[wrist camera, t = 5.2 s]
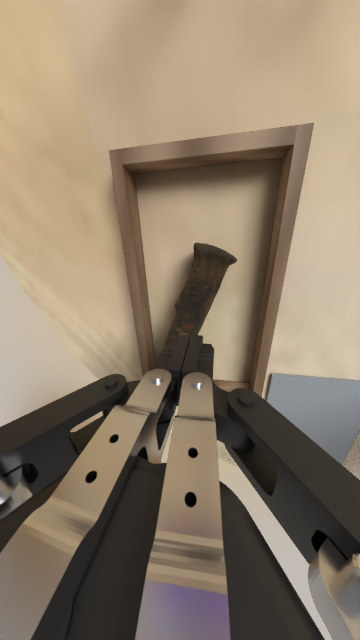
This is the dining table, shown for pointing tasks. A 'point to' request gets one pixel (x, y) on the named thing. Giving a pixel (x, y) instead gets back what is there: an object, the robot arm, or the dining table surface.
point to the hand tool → (199, 290)
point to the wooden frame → (202, 153)
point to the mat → (319, 409)
